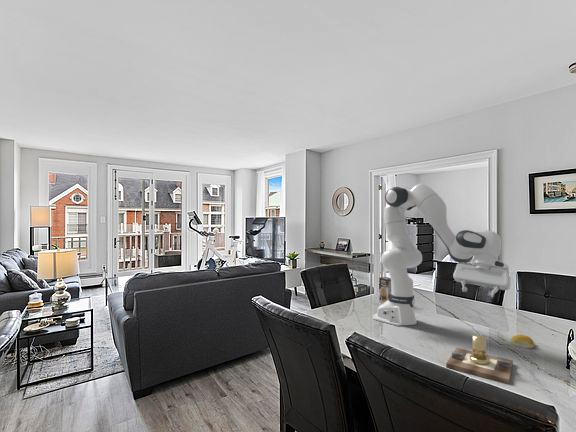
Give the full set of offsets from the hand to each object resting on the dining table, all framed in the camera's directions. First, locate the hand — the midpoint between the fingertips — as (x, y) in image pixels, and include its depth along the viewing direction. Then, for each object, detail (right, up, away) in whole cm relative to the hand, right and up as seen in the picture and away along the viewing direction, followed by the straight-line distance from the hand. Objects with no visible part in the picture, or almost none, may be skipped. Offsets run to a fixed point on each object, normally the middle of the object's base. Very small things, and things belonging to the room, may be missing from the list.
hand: (476, 293), depth 127 cm
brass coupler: (-5, -23, -10) cm, 25 cm away
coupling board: (-5, -24, -10) cm, 27 cm away
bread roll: (+26, -25, +9) cm, 37 cm away
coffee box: (-12, -25, +76) cm, 81 cm away
